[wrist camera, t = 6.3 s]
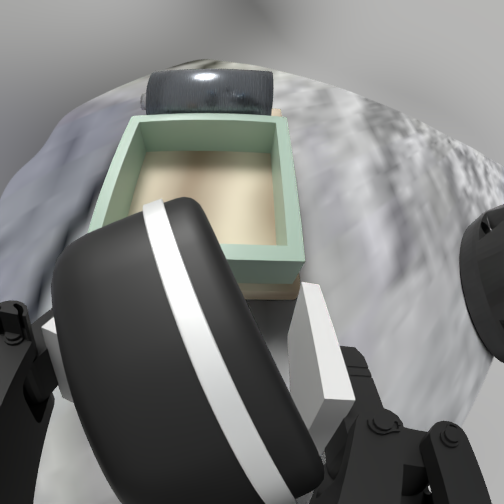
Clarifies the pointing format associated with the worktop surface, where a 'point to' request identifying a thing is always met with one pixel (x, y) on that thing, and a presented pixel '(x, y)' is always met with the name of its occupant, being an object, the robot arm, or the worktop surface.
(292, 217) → the mint green tray
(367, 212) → the worktop surface
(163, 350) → the battery charger
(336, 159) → the worktop surface
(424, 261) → the worktop surface
